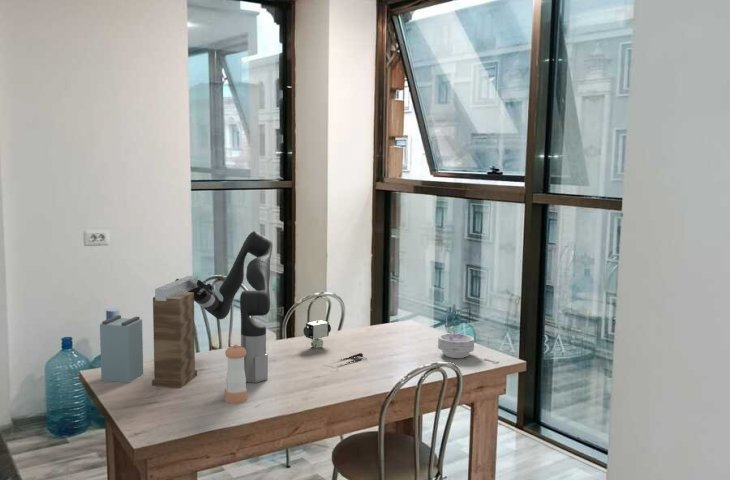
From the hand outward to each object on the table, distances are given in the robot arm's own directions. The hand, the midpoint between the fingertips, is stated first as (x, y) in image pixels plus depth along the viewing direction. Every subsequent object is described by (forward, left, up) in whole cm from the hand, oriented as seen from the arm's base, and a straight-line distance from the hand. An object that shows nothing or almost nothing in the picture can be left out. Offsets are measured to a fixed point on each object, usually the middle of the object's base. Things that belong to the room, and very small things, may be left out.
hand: (187, 281), depth 250 cm
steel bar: (-4, +7, -3) cm, 9 cm away
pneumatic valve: (-13, -57, -35) cm, 68 cm away
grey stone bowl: (-64, -89, -35) cm, 115 cm away
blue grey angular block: (+11, +21, -35) cm, 42 cm away
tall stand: (-6, +10, -35) cm, 37 cm away
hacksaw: (-38, -49, -35) cm, 72 cm away
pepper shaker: (-37, +7, -35) cm, 51 cm away
